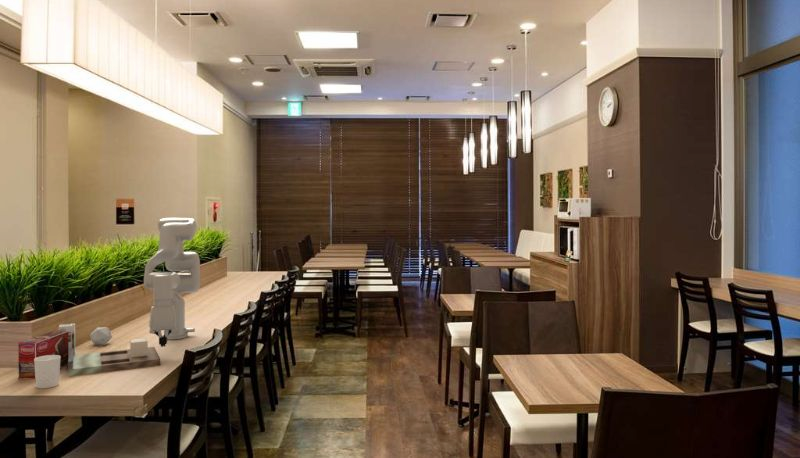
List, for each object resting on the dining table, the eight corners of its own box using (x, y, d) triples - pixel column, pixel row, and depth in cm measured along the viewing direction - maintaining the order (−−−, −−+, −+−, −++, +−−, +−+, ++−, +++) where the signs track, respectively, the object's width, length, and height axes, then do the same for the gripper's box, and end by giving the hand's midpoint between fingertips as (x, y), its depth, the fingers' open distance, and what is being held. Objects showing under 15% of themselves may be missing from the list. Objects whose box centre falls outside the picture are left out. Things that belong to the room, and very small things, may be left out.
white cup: (42, 382, 196) (42, 354, 195) (65, 382, 196) (65, 354, 196) (29, 389, 188) (29, 360, 187) (53, 389, 188) (52, 360, 188)
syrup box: (58, 361, 223) (58, 326, 223) (59, 357, 229) (59, 323, 228) (74, 359, 226) (74, 325, 226) (75, 356, 231) (75, 322, 231)
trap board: (154, 352, 239) (154, 340, 239) (160, 365, 219) (160, 351, 219) (69, 361, 223) (69, 348, 223) (68, 376, 203) (68, 361, 203)
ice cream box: (36, 378, 200) (35, 343, 200) (18, 378, 200) (18, 342, 200) (68, 363, 220) (68, 331, 220) (52, 363, 220) (52, 331, 220)
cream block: (146, 352, 230) (146, 338, 230) (147, 355, 225) (147, 341, 224) (130, 353, 227) (130, 339, 227) (131, 357, 222) (131, 342, 221)
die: (96, 348, 247) (110, 331, 250) (82, 338, 248) (96, 321, 251) (105, 351, 255) (119, 333, 257) (91, 341, 256) (105, 324, 259)
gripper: (180, 300, 237) (180, 342, 237) (142, 303, 229) (142, 346, 230) (183, 303, 230) (183, 345, 231) (144, 305, 223) (144, 350, 223)
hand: (162, 345), depth 230 cm, fingers closed
